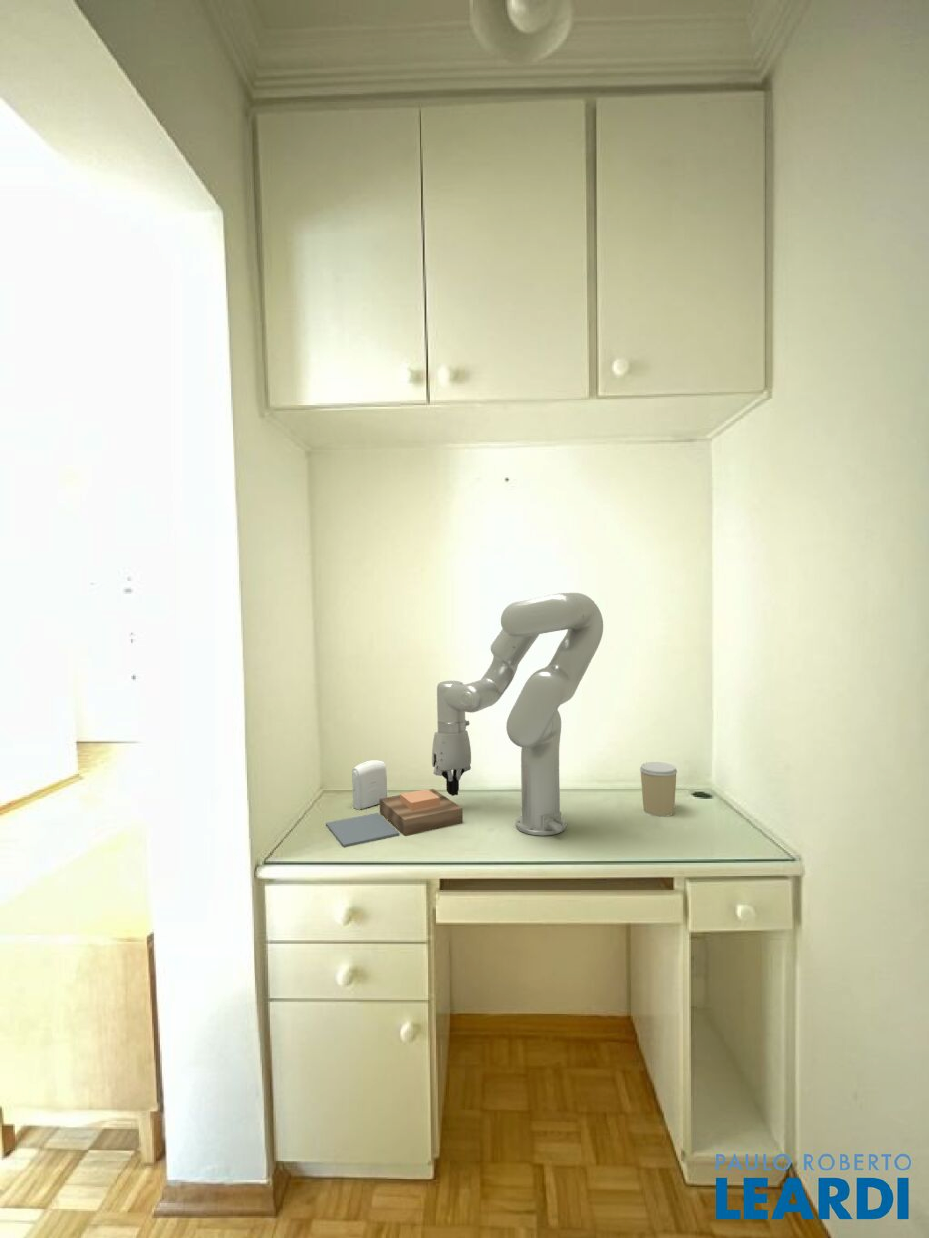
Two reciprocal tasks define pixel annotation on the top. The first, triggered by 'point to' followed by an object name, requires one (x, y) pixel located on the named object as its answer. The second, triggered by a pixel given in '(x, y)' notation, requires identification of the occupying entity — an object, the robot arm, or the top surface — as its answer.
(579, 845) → the top surface
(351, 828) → the mat
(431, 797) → the tile
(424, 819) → the deck
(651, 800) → the coffee cup
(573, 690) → the robot arm
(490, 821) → the top surface
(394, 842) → the top surface
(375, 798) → the photo printer
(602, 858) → the top surface
